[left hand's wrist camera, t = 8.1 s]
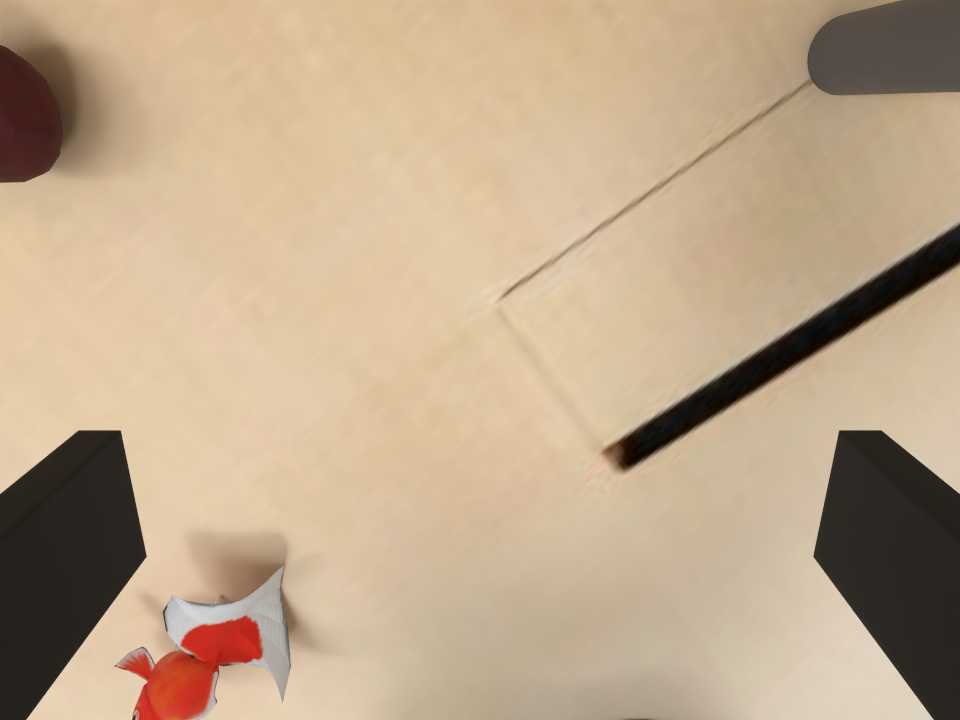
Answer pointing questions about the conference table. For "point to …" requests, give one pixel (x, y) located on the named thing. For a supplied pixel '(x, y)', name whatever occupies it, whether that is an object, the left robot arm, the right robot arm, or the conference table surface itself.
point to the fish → (211, 651)
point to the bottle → (890, 50)
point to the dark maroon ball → (26, 121)
